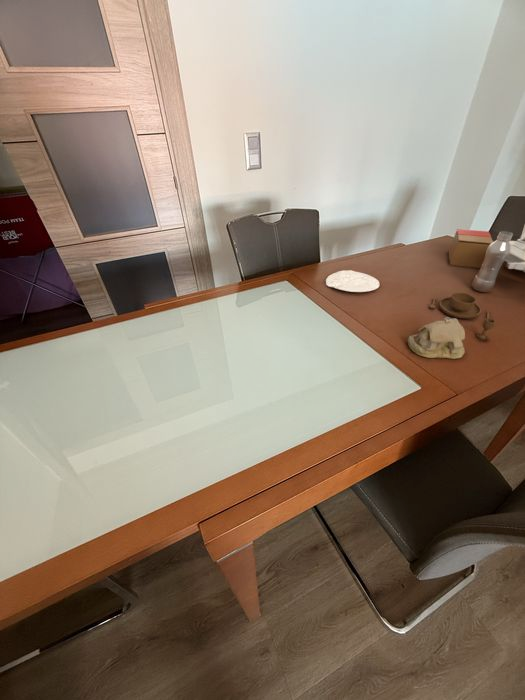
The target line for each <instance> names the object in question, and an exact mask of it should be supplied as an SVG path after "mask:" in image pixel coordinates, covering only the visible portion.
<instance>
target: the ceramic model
mask: <svg viewBox="0 0 525 700" xmlns="http://www.w3.org/2000/svg"><path fill="white" fill-rule="evenodd" d="M418 332H419V333H417V334H412V335H409V336H408V338H407V345H408V347H409V349H410V350H411V351H412V352H414V353H415V354H417V355H418V356H421V357H424V358H429V359H435V358H442V359H446V358H447V359H461V358H462V357H463V356H464V354H465V353H466V351H465V348H464V344H463V341H464V340H465V339H466V333H465V332H466V331H465V328H464V327H463V325H461V323H460V322H459V320H458V318H455V317H452V318H451V317H450V316H446V317H444V318H443V320H434V321H433V322H430V323H428V324H425V325H422V326H420V328H419V329H418Z"/></svg>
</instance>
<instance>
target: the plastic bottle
mask: <svg viewBox="0 0 525 700" xmlns="http://www.w3.org/2000/svg"><path fill="white" fill-rule="evenodd" d="M513 235H514V233H513V232H510V231H503V230H502V231H500V232H499V233H498V235H497V237H496V240H495V241H494V240H493V243H492V244H490V245H489V247H488V248H487V251H486V255H485V259H484V261H483V264H482V267H481V268H479V270H478V273H477V274H476V275H475V277H474V278H473V280H472V284H471V286H472V288H473V290H475V291H477V292H480V293H489V292H490V291H492V289H493V288H494V286H495V284H496V279H497V277H498V274H499V271H500V269H501V268H502V265H503V264H504V262H506V261H505V259H506V258H507V256H508V255H509V253H510V250H511V248H510V244H509V241H512V237H513Z"/></svg>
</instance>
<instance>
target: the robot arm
mask: <svg viewBox="0 0 525 700" xmlns="http://www.w3.org/2000/svg"><path fill="white" fill-rule="evenodd" d="M509 244H510V248H511V250H510V253H509V255H508V256H507V258H506V259H505V261H504V262H506V265H505V268H507V269H508V270H513V269H514V270H516V271H522V272H523V273H525V224H524V226H523V228H522V231H521V233H520V236H519V238H517V240H510V241H509Z"/></svg>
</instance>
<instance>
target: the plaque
mask: <svg viewBox="0 0 525 700" xmlns="http://www.w3.org/2000/svg"><path fill="white" fill-rule="evenodd" d="M325 285H326V286H327V287H330V288H334V289H336V290H340V291H345V292H351V293H366V292H371V291H375V290H377V289H378V288H379V287H380V281H379V280H378V279H377V278H376V277H374V276H372V275H370V274H367V273H364V272H361V271H355V270H351V269H350V270H339V271H336V272H334V273H331V274H330V275H328V276H327V277H326V279H325Z"/></svg>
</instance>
